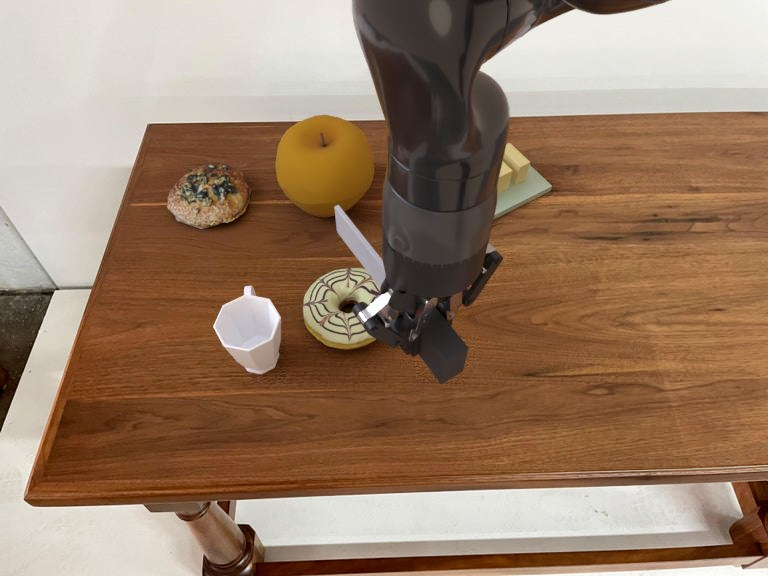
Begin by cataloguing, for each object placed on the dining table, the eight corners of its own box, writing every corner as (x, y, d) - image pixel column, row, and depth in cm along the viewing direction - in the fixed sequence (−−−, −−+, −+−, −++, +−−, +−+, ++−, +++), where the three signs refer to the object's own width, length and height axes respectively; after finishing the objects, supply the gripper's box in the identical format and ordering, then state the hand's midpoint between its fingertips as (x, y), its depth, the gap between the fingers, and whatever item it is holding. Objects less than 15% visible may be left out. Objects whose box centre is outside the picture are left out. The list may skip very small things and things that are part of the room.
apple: (344, 153, 88) (340, 88, 78) (393, 209, 82) (395, 145, 72) (266, 188, 84) (250, 124, 75) (311, 250, 78) (301, 188, 68)
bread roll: (226, 159, 87) (220, 136, 82) (268, 212, 83) (263, 190, 79) (156, 196, 83) (145, 173, 79) (197, 252, 80) (187, 232, 75)
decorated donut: (412, 311, 73) (413, 294, 69) (351, 372, 68) (350, 357, 65) (348, 266, 76) (347, 247, 73) (287, 320, 72) (283, 303, 69)
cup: (230, 389, 67) (213, 356, 60) (228, 314, 72) (212, 275, 66) (293, 380, 68) (283, 346, 61) (286, 306, 73) (277, 267, 66)
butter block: (508, 189, 83) (513, 170, 80) (467, 209, 80) (470, 191, 78) (488, 169, 85) (492, 150, 82) (448, 188, 83) (450, 169, 80)
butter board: (550, 191, 84) (552, 185, 83) (469, 232, 80) (470, 227, 79) (506, 148, 88) (507, 143, 88) (427, 185, 84) (427, 180, 84)
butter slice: (525, 180, 83) (530, 162, 81) (515, 185, 83) (520, 167, 80) (505, 161, 86) (509, 142, 83) (495, 165, 85) (499, 147, 82)
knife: (348, 226, 63) (346, 197, 59) (463, 371, 54) (469, 347, 50) (328, 235, 62) (325, 206, 59) (441, 384, 53) (445, 361, 49)
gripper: (483, 147, 45) (459, 279, 59) (321, 224, 41) (337, 346, 55) (550, 211, 41) (507, 335, 56) (380, 303, 37) (381, 411, 52)
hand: (423, 340), depth 55 cm, fingers closed on knife, 2 cm apart
